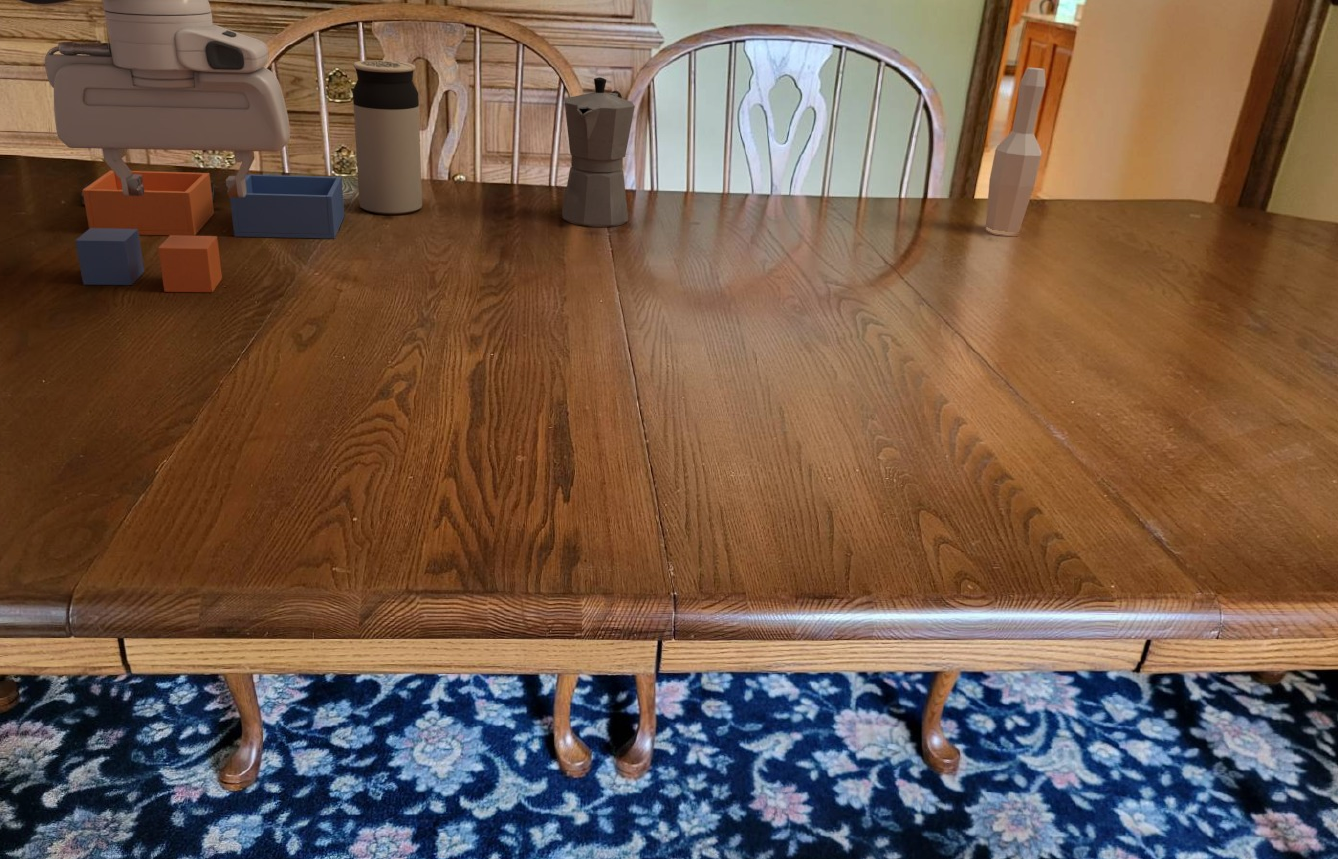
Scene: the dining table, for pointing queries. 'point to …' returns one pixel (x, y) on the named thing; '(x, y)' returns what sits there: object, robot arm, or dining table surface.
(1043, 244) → the dining table surface
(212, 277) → the orange block
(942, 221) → the dining table surface
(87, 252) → the blue block
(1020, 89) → the low poly bottle
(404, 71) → the travel mug
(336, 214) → the blue bin
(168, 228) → the orange bin
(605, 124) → the coffeepot
